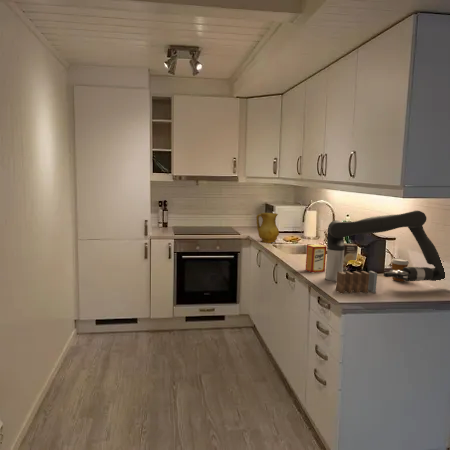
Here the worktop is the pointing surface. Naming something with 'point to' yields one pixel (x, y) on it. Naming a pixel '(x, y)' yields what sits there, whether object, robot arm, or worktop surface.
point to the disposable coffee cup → (399, 265)
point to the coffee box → (349, 253)
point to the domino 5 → (372, 281)
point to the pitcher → (267, 227)
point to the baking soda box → (315, 258)
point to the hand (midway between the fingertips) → (384, 274)
